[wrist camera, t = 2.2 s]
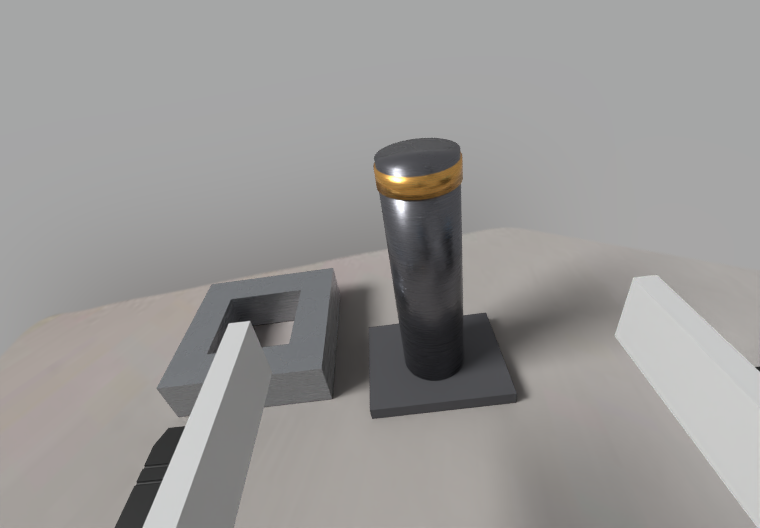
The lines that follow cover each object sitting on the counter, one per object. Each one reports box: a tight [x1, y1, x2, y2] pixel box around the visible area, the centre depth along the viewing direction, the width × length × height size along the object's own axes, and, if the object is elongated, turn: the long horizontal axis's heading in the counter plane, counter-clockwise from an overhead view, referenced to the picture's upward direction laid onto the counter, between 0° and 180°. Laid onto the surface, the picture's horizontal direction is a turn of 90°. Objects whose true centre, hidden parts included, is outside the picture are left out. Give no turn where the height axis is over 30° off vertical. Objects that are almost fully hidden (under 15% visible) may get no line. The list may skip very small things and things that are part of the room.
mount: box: [369, 313, 517, 419], centre depth 29 cm, size 10×8×1 cm
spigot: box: [374, 138, 464, 381], centre depth 25 cm, size 5×5×16 cm
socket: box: [157, 268, 340, 417], centre depth 33 cm, size 12×12×4 cm
